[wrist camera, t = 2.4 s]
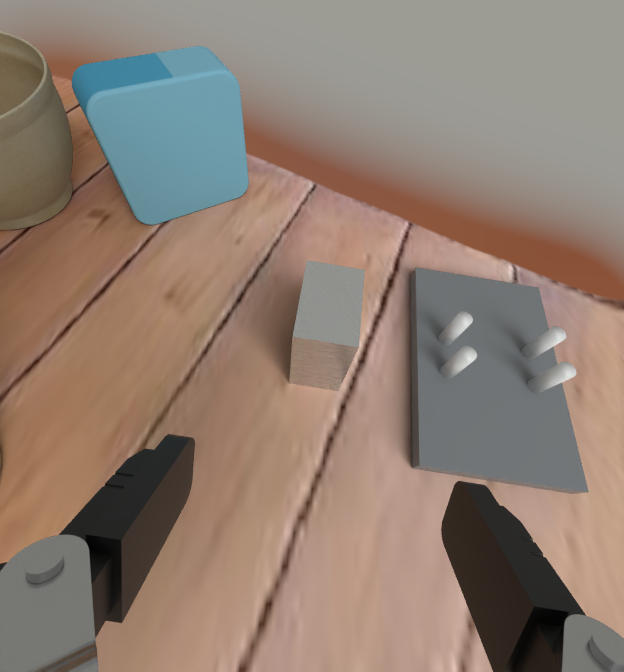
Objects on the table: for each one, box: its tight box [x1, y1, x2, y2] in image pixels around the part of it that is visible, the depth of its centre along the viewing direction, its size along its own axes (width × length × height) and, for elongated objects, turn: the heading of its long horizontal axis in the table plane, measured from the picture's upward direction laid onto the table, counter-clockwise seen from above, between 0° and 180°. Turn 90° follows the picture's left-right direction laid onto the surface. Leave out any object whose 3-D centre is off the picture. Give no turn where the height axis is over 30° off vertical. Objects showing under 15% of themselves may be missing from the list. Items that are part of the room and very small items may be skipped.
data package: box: [72, 46, 249, 225], centre depth 31 cm, size 12×4×12 cm, turn 122°
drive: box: [289, 261, 365, 391], centre depth 25 cm, size 4×6×8 cm
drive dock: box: [410, 268, 588, 494], centre depth 27 cm, size 12×18×5 cm, turn 172°
